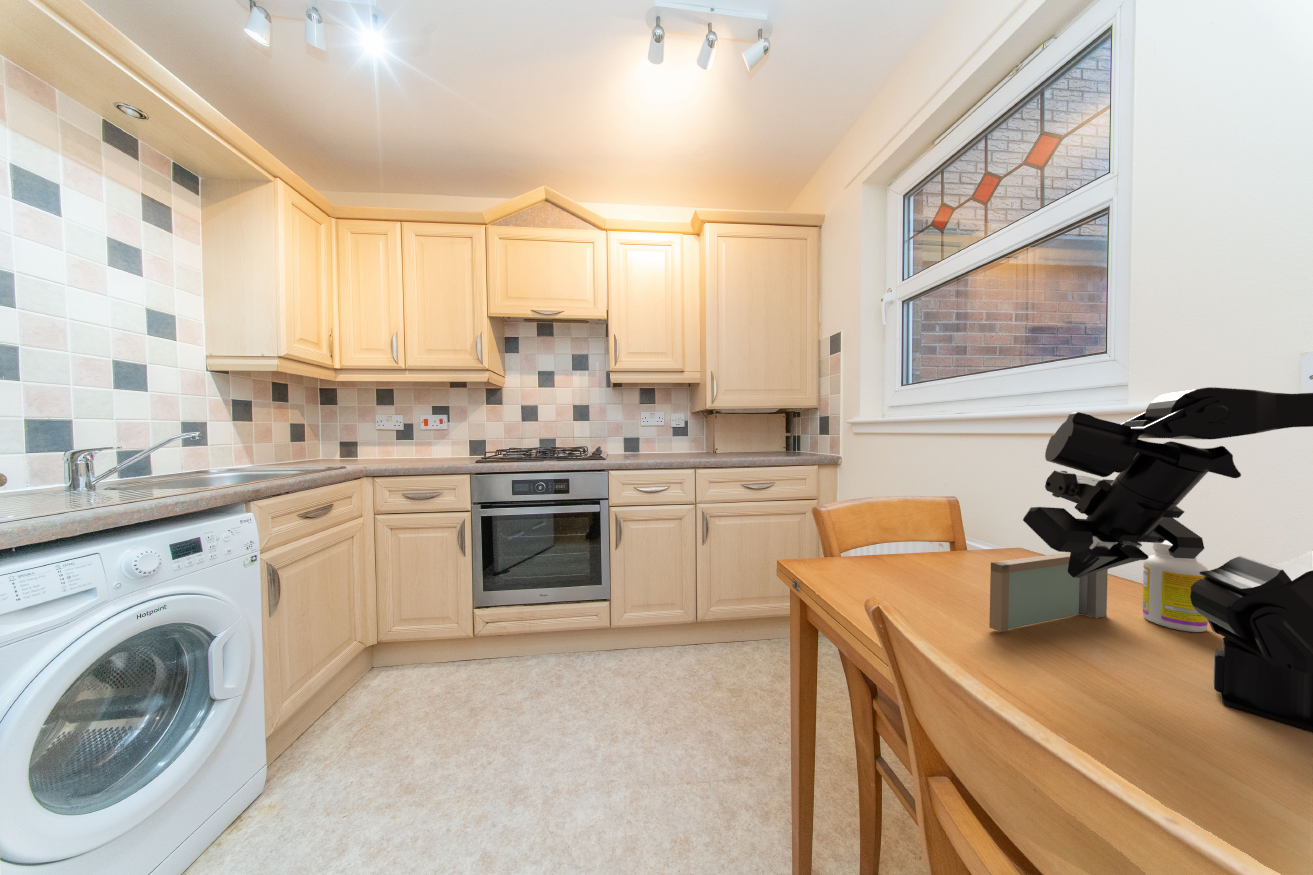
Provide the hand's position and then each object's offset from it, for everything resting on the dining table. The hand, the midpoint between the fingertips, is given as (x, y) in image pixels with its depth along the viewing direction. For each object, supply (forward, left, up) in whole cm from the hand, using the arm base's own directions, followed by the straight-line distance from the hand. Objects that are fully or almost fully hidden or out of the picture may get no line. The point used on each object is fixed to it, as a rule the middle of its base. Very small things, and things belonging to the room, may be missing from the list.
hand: (1072, 574), depth 61 cm
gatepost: (0, -18, -10) cm, 21 cm away
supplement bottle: (-9, -23, -10) cm, 27 cm away
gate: (+4, -6, -10) cm, 12 cm away
